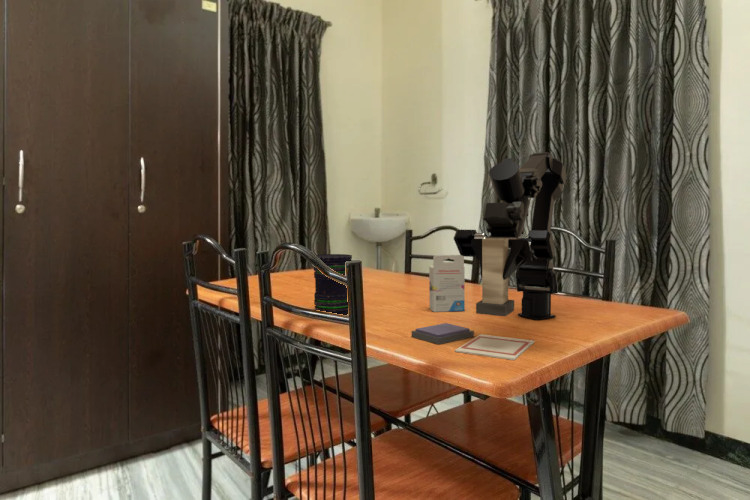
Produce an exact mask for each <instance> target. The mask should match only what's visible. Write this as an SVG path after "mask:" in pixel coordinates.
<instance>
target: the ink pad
mask: <svg viewBox="0 0 750 500" xmlns="http://www.w3.org/2000/svg"><path fill="white" fill-rule="evenodd" d="M474 335H475V330H471V328H469V327H465V326H460V325H457V324H453V323H452V324H451V323H447V322H444V323H439V324H434V325H430V326H428V325H427V326H424V327H417V328H415V330H412V331H411V337H412V338H415V339H417V340H421V341H425V342H429V343H432V344H435V345H439V346H440V345H443V344H448V343H452V342H458V341H461V340H462V341H463V340H466V339H469V338H475V337H474Z"/></svg>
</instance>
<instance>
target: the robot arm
mask: <svg viewBox="0 0 750 500" xmlns="http://www.w3.org/2000/svg"><path fill="white" fill-rule="evenodd" d="M488 175H489V178H490V182H491V186H492V188H493V191H494V195H495V198H496V200H500V202H487V203H485V206H484V213H483V217H482V218H483V221H484V222H485V223H487V226H486V232H487V233H488V234H489V233H490V234H489V235H487V234H486V233H478V232H477V230H476V229H457V230H456V231H455V233H454V236H453V241H454V243H455V245H456V248H457V250H458V252H459V255H462V256H464V257H468V258H469V257H471V258H472V257H473V258H476V259H477V260H478V261H479V262H478V263H479V271H480V276H481V278H482V239H486V238H508V250H510V251H509V253H508V259H507V262H506V265H505V267H504V271H503V279H504V280H506V279H507V278H508V279H509V277H510V276H511V275H512V274H513V273H515V282H516V291H517V292H521V293H522V297H521V312H518V313H517V316H520V317H524V318H529V319H532V320H535V321H536V320H538V321H540V320H544V319H551V318H556V314H551V313H552V311H551V310H552V308H551V307H552V295H553V294H558V293H559V284H558V277H557V274H556V272H555V269H554V264H553V262H552V260H553V259H554V257H555V253H556V246H555V241H554V237H553V232H551V229H552V222H553V214H554V207H555V206H554V205H555V201H556V200H557V199H558V197H560V195H561V194H562V192H563V188H564V185H566V181H567V171H566V169H565V166H564V163H563V162H561V161H560V160H558V159H556V158H554V156H553V154H552V153H551V152H537V153H536V152H533V153H532V154H529V156H528V159H527V161H525V163H524V164H522V166H521V167H520V166H519V164H518V163H517V162H515V160H514V158H513V157H509V158H503V159H502V161H501V162H499V163H496V164H495V165H493V166H492V167H491V168H490V169H489V171H488ZM530 199H535V200H534V207H533V208H534V209H533V215H532V221H531V230H529V231H528V234H527V236H528V237H525V238H524V237H523V238H522V235H524V232H525V227H524V226H525V222H526V220H527V219H526V218H527V217H529V208H530V203H531V201H530Z"/></svg>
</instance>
